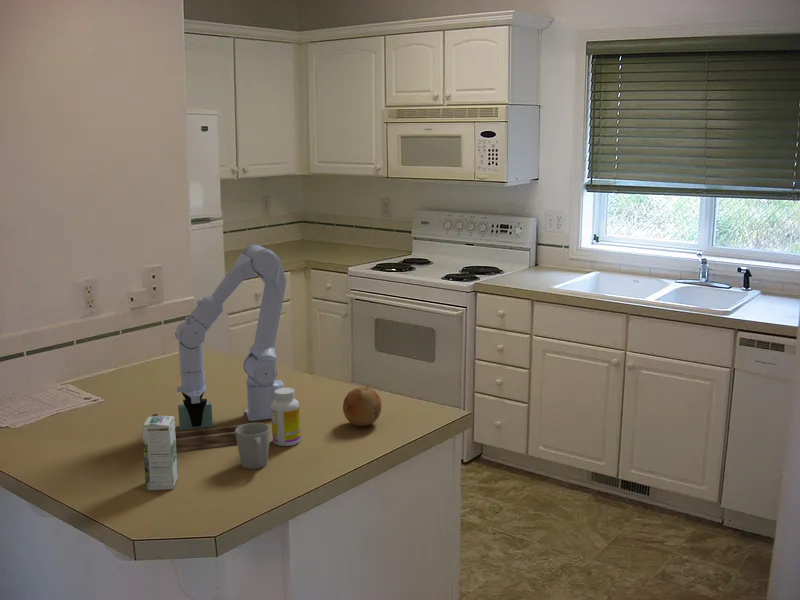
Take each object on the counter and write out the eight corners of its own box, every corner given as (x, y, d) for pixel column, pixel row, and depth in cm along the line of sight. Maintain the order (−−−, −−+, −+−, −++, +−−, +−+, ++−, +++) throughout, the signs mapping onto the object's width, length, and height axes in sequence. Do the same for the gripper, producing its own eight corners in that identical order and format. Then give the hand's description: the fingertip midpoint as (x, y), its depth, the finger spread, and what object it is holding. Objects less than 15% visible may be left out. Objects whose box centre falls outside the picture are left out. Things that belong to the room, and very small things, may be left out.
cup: (266, 455, 193) (265, 420, 191) (278, 472, 184) (276, 435, 182) (233, 461, 190) (231, 425, 188) (243, 478, 181) (241, 441, 179)
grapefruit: (356, 415, 217) (355, 378, 215) (389, 421, 213) (388, 384, 210) (335, 427, 209) (334, 389, 207) (369, 434, 204) (368, 395, 202)
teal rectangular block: (212, 423, 213) (210, 401, 212) (212, 426, 211) (211, 404, 210) (179, 427, 211) (177, 405, 209) (180, 430, 209) (178, 407, 207)
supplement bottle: (305, 438, 203) (303, 387, 200) (293, 448, 196) (291, 396, 194) (280, 435, 205) (278, 385, 202) (267, 445, 199) (265, 393, 196)
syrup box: (151, 479, 181) (146, 416, 178) (179, 478, 181) (174, 414, 178) (145, 491, 175) (140, 425, 172) (174, 489, 176) (169, 424, 173)
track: (243, 431, 207) (242, 404, 206) (247, 443, 200) (246, 415, 198) (154, 442, 201) (152, 414, 200) (155, 454, 194) (152, 426, 192)
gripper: (174, 363, 213) (178, 413, 216) (176, 380, 200) (180, 433, 203) (202, 360, 215) (206, 410, 218) (207, 377, 202) (210, 430, 205)
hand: (195, 421), depth 210 cm, fingers open, 6 cm apart
